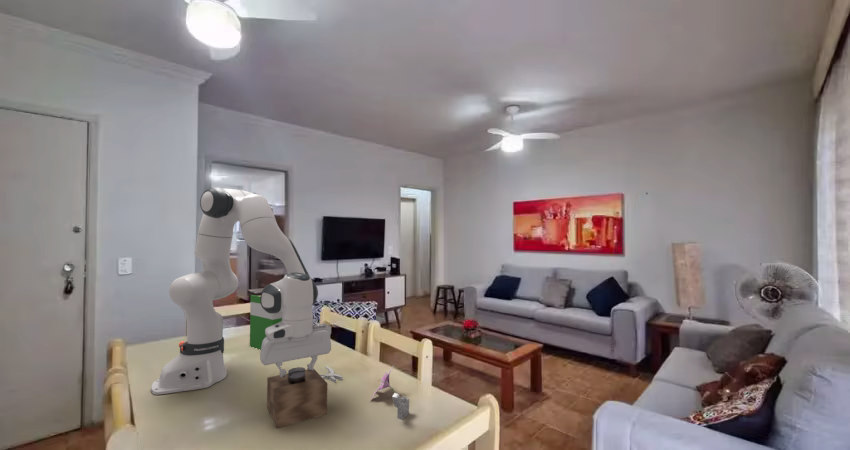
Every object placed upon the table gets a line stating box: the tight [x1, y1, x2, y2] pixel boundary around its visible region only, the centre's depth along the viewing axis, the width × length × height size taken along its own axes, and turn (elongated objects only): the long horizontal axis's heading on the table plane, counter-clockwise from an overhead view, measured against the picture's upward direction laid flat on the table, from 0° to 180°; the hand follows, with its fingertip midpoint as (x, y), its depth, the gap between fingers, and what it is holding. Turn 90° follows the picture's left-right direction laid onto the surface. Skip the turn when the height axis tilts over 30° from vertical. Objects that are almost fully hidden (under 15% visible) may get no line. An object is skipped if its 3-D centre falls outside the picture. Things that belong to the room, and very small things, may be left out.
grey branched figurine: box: [319, 366, 343, 384], centre depth 132 cm, size 10×2×15 cm
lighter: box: [391, 392, 410, 421], centre depth 102 cm, size 7×2×8 cm, turn 154°
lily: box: [370, 366, 396, 402], centre depth 116 cm, size 12×12×10 cm
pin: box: [287, 366, 306, 385], centre depth 106 cm, size 5×5×10 cm
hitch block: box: [266, 368, 328, 429], centre depth 106 cm, size 14×14×9 cm
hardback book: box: [249, 294, 283, 351], centre depth 164 cm, size 18×7×24 cm, turn 57°
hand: (296, 373), depth 107 cm, fingers open, 7 cm apart
